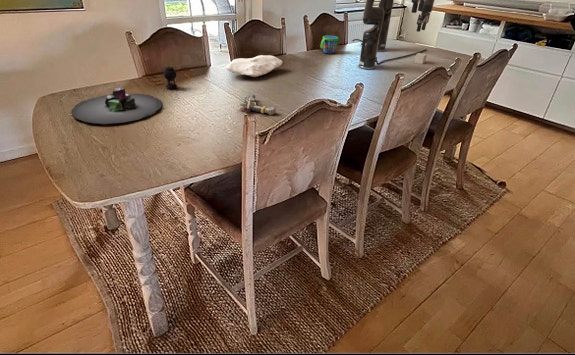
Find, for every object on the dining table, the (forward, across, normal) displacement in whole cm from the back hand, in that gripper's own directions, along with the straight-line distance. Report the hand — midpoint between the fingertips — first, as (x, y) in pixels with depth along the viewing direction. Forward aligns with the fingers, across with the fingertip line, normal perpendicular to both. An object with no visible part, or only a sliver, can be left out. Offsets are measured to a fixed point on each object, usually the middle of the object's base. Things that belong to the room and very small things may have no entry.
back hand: (420, 30), depth 237 cm
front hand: (-20, -68, -19) cm, 74 cm away
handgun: (+18, -141, +14) cm, 143 cm away
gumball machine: (+19, -152, +61) cm, 165 cm away
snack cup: (+18, -36, +45) cm, 61 cm away
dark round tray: (+20, -182, +56) cm, 192 cm away
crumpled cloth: (+19, -106, +50) cm, 119 cm away
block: (+16, -13, -9) cm, 23 cm away
